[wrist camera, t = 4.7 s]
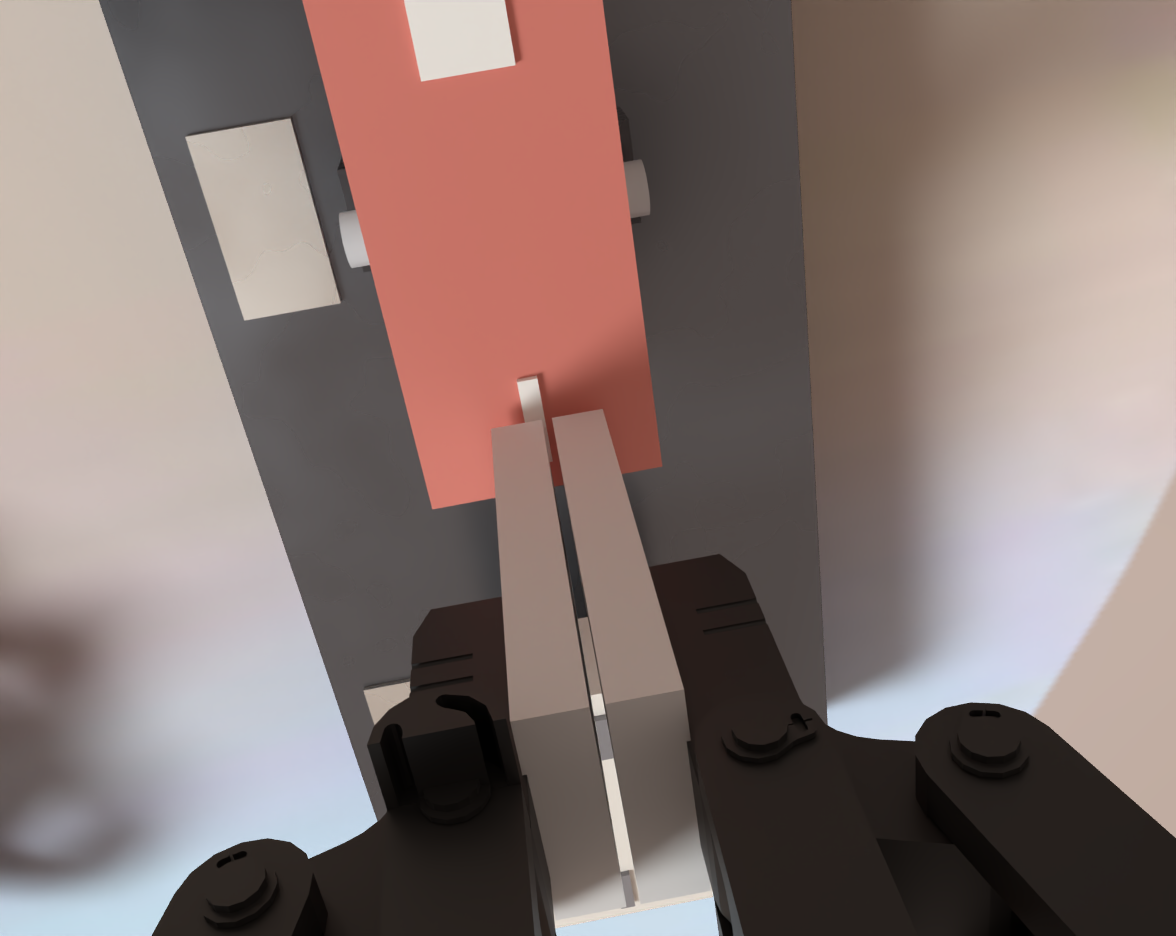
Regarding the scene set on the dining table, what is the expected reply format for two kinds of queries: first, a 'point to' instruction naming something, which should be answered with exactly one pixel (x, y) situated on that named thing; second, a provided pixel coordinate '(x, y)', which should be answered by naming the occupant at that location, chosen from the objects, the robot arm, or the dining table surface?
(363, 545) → the rocker switch panel
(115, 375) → the dining table surface
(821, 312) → the dining table surface
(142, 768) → the dining table surface
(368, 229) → the rocker
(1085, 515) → the dining table surface
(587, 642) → the rocker
